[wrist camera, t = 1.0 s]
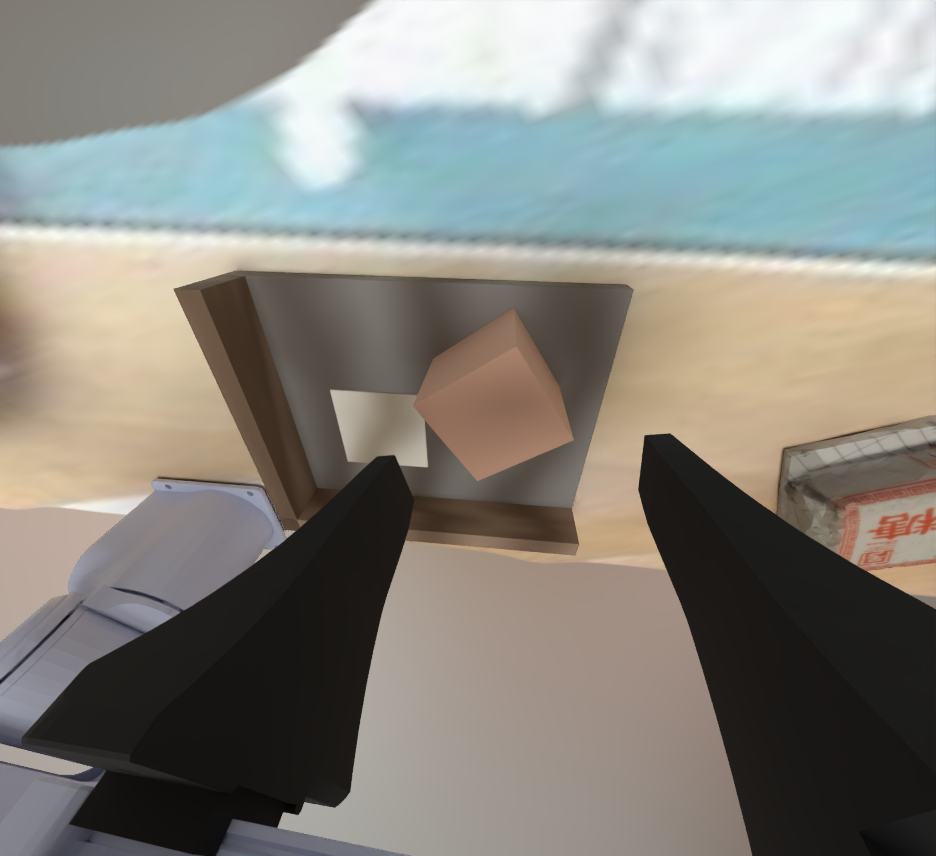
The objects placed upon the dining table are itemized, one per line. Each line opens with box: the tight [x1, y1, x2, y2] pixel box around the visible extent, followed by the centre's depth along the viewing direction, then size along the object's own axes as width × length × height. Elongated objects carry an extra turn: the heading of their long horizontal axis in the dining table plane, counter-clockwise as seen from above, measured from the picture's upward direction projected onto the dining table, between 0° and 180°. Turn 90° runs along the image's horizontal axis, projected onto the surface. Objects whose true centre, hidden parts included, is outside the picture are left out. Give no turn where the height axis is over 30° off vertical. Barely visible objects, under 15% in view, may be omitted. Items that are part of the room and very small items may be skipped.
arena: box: [174, 271, 633, 555], centre depth 20 cm, size 20×16×4 cm
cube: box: [413, 308, 574, 481], centre depth 16 cm, size 5×5×5 cm
